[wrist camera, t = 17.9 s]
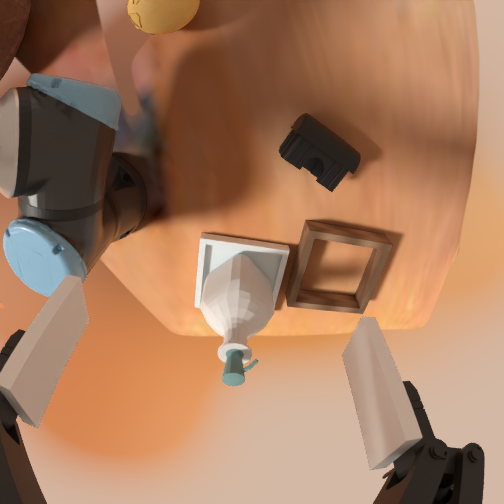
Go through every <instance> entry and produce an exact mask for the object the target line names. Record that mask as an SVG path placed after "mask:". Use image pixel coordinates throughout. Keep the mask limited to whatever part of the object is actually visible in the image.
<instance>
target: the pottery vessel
mask: <svg viewBox="0 0 504 504" xmlns="http://www.w3.org/2000/svg"><path fill="white" fill-rule="evenodd" d="M30 9H31V0H0V80H1V79H2V78H3V76H4V75H5V73H6V71H7V70H8V68H9V66H10V65H11V63H12V61H13V59H14V57H15V55H16V53H17V50H18V48H19V46H20V44H21V42H22V40H23V37H24V34H25V30H26V25H27V21H28V17H29V13H30Z"/></svg>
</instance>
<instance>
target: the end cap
mask: <svg viewBox="0 0 504 504" xmlns="http://www.w3.org/2000/svg"><path fill="white" fill-rule="evenodd" d="M291 128H292V131H291V132H290V133H289V135H288V136H287V138H286V139H285V140H284V142H283V143H282V145H281V146H280V149H279V153H280V154H281V157H282V158H283V159H285V160H286V161H288V162H289V163H291V164H292V165H294V166H295V167H296V168H298V169H299V170H300V169H301V168H302V166H303V167H304V168H306V169H307V170H308V171H310V173H311V174H313V175H314V176H316V177H317V180H316V181H317V182H318V183H320V184H321V185H322V186H324V187H325V188H327V189H328V190H329V191H331V192H333V190H334V189H335V188H336V187H337V185H338V184H339V183H340V181H341V180H342V179H343V177H344V176H345V175H346V174H347V172H348V171H350V172H351V173H352V174H354V172H355V171H356V169H357V167H358V165H359V163H360V154H359V152H357V151H356V150H355V149H354V148H352V147H351V146H350V145H349V144H347V143H346V142H345V141H344V140H342V139H341V138H340V137H338V136H337V135H336V134H335V133H333V132H332V131H331V130H329V129H328V128H327V127H325V126H324V125H323V124H321V123H320V122H318V121H317V120H316V119H314V118H313V117H311V116H310V115H309V114H307V113H305V114H303V115H302V116H300V117H299V118H298V119H297V121H296V122H295V123H294V124H293V125H292V127H291Z"/></svg>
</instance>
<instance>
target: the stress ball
mask: <svg viewBox="0 0 504 504" xmlns="http://www.w3.org/2000/svg"><path fill="white" fill-rule="evenodd" d="M199 4H200V0H128V1H127V5H128V16H129V19H130V20H131V22H132V23H133V24H134V25H135V26H136V27H137V28H138V29H139V30H142V31H145V32H147V34H152V35H155V34H167V33H171V32H174V31H177V30H179V29H181V28H183V27H184V26H185V25H187V24H188V23H189V22H190V21H191V20H192V19H193V17H194V16H195V14H196V13H197V11H198V8H199Z"/></svg>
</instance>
